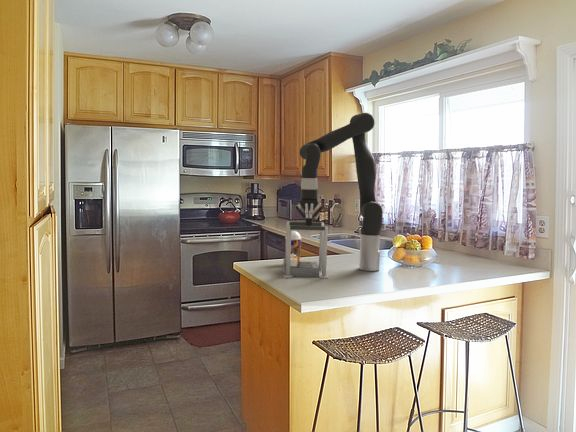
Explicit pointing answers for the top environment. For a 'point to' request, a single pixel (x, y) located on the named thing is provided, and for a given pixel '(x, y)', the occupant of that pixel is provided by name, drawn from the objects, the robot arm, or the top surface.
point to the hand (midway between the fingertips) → (308, 226)
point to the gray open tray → (302, 269)
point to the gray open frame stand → (322, 244)
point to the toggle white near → (293, 262)
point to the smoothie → (295, 243)
